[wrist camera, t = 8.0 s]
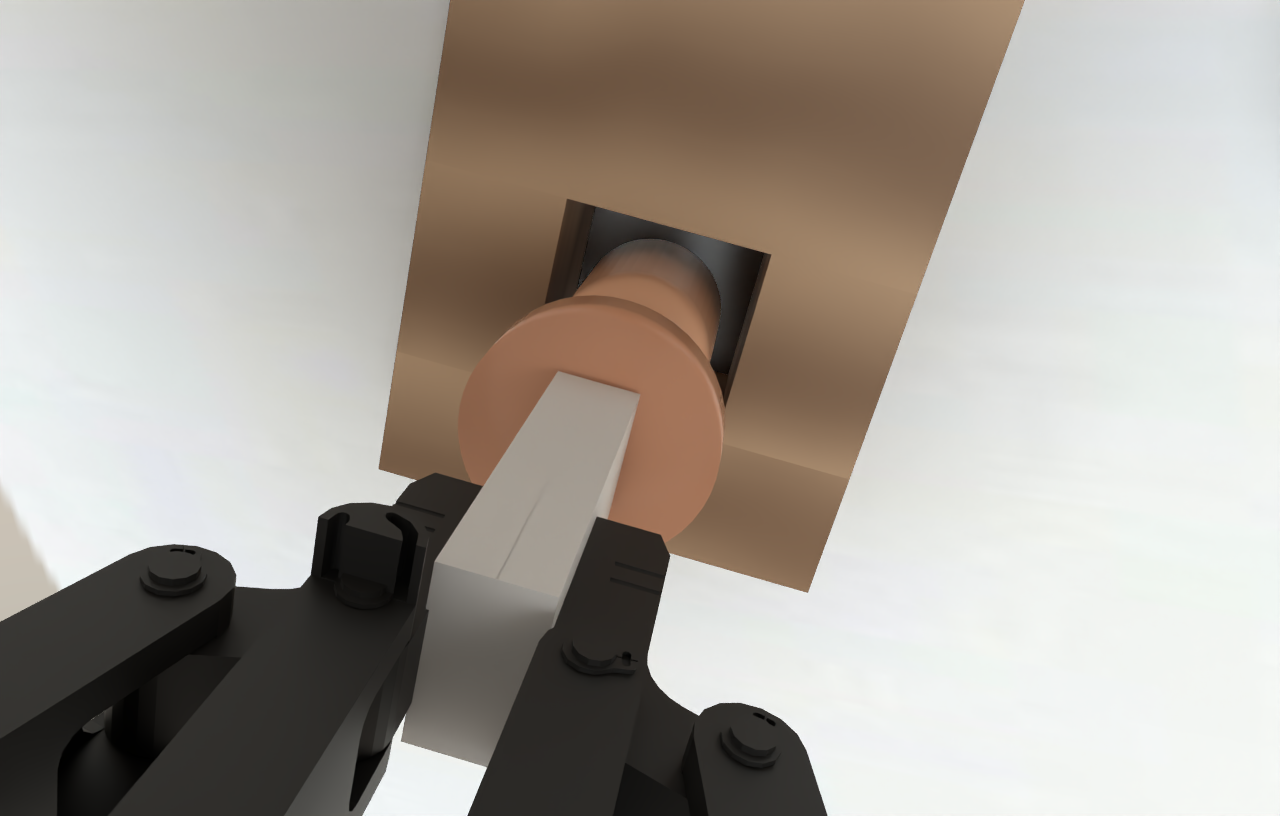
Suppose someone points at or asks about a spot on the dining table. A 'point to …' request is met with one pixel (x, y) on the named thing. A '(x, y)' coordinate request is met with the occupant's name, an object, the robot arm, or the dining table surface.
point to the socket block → (700, 214)
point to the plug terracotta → (618, 378)
